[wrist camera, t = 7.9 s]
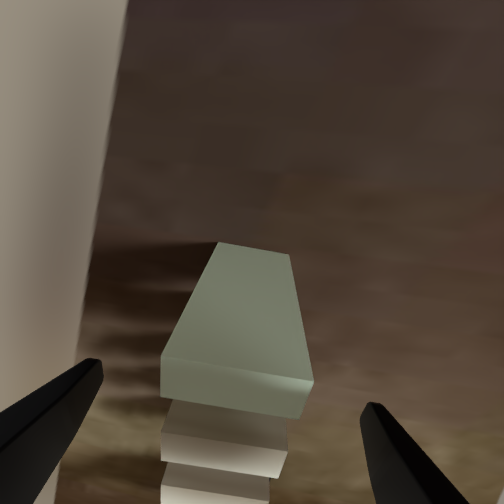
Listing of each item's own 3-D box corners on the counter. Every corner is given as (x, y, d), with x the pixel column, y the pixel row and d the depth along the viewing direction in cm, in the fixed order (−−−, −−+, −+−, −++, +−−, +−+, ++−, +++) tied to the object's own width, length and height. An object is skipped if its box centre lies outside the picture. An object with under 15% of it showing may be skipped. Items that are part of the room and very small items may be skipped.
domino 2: (272, 321, 19) (277, 478, 10) (211, 311, 19) (160, 460, 10) (277, 301, 19) (287, 451, 9) (213, 290, 19) (160, 431, 9)
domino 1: (282, 278, 18) (298, 420, 9) (215, 267, 18) (160, 396, 9) (288, 254, 17) (313, 381, 8) (218, 241, 17) (160, 355, 8)
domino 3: (264, 357, 21) (262, 521, 12) (207, 348, 21) (160, 505, 12) (268, 340, 20) (269, 501, 11) (209, 331, 20) (160, 485, 11)
